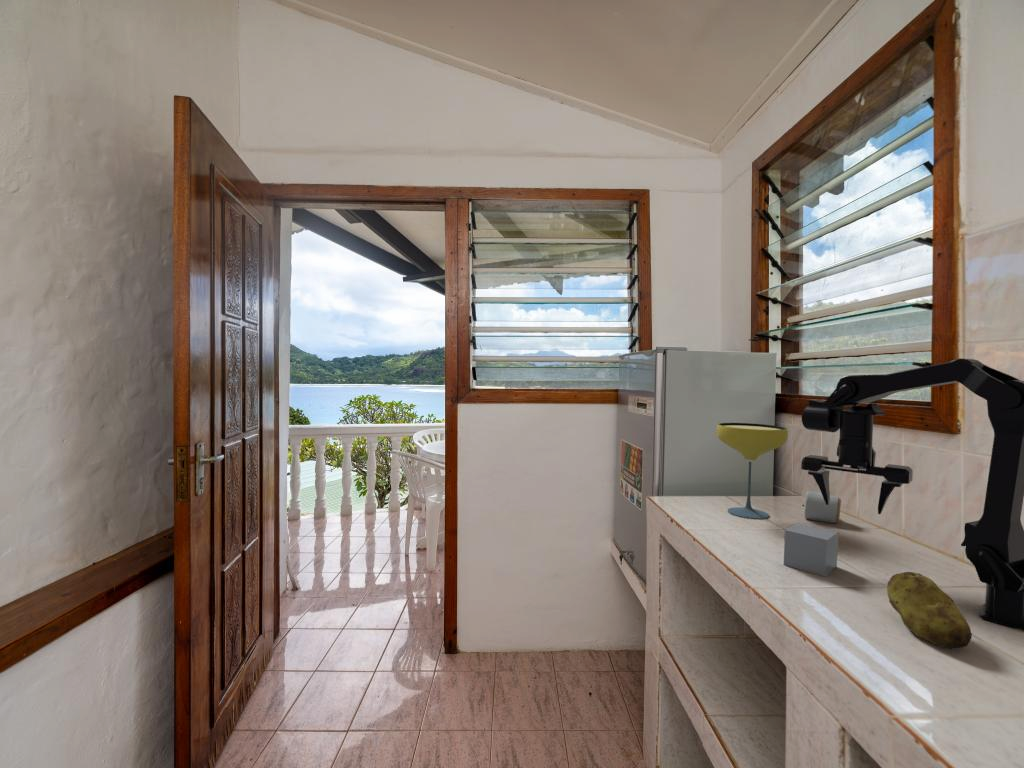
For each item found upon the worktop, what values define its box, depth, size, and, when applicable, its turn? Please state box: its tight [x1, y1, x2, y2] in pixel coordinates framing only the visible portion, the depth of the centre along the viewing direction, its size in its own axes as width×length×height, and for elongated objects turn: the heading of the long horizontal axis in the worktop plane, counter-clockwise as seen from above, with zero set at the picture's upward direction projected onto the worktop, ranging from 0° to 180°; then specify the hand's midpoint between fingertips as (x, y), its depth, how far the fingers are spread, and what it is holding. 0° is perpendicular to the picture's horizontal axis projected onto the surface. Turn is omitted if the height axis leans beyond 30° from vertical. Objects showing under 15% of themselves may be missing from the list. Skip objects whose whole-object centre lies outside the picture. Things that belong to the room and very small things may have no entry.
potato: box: [886, 571, 973, 650], centre depth 78 cm, size 8×13×8 cm, turn 157°
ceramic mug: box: [804, 490, 842, 524], centre depth 139 cm, size 11×8×8 cm
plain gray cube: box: [783, 522, 839, 577], centre depth 105 cm, size 8×8×7 cm
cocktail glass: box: [716, 422, 789, 520], centre depth 143 cm, size 18×18×25 cm
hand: (852, 509), depth 106 cm, fingers open, 9 cm apart
